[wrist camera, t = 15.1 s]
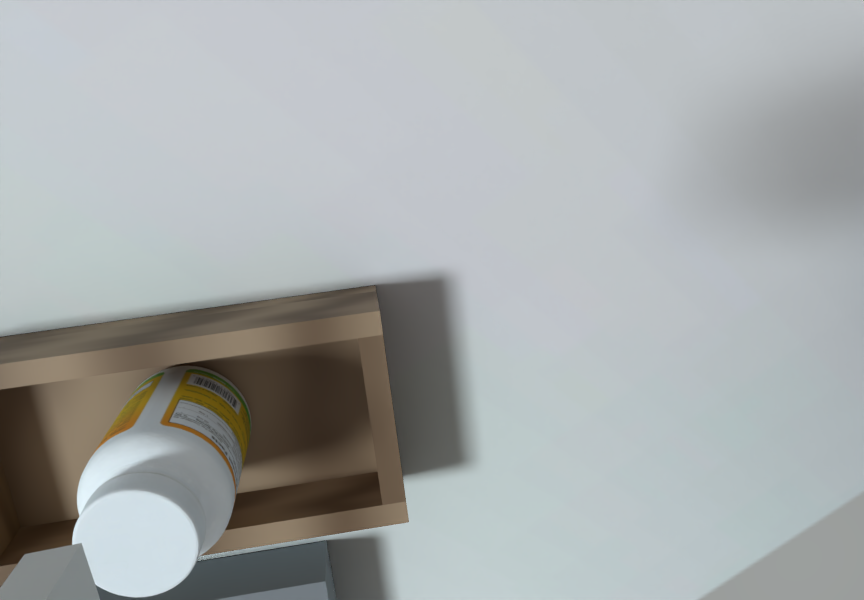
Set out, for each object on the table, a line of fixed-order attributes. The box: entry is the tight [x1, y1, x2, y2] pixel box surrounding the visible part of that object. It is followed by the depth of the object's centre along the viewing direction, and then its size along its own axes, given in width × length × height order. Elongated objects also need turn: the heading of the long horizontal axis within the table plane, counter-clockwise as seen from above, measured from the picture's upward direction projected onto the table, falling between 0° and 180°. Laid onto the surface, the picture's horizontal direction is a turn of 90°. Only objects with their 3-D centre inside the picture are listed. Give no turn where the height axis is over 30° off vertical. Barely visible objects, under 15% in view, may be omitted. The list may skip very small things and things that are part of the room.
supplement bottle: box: [72, 366, 251, 597], centre depth 30 cm, size 5×5×10 cm
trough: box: [0, 285, 409, 587], centre depth 34 cm, size 18×10×4 cm, turn 96°
